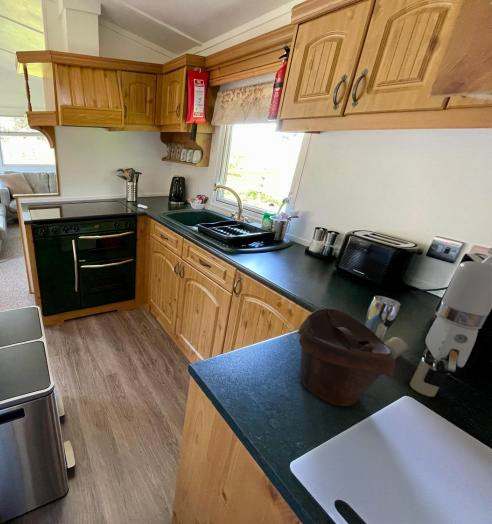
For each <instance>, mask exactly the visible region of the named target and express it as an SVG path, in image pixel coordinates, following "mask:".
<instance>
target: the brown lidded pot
mask: <svg viewBox="0 0 492 524" xmlns="http://www.w3.org/2000/svg"><path fill="white" fill-rule="evenodd" d="M297 334H298V335H299V339H298V343H299V345H300V347H301V350H300V351H301V355H300V375H299V377H300V380H301V383H302V385H303V386H304V388H306V389H307V390H308V391H309V392H311V393H312V394H313V395H314V396H317V397H318V398H320V399H321V400H323V401H325V402H327V403H330V404H332V405H336V406H340V407H349V406H353V405H354V404H356V403H357V402H358V401H359V400H360V398H361V397H362V396H363V395H364V394H365V393H366V392H367V391H368V390H369V388H370V387H371V386H372V385H373V384H374V383H375V382H376V381H377V379H378V378H379V377H380V376H381V375H382V376H385V377H389V378H391V379H392V380H394V371H395V366H396V359H395V360H394V358H392V352H391V350H390V349H389V348H388V347H387V346H386V344H385V343H384V340H383V341H382V340H380V339H379V338H378V337H377V336H376V335H375V334H374V333H373V332H372V331H371V330H370V329H369V328H367V327H366V326H365V324H364V323H362V322H361V321H360V320H358V319H357V318H355V317H353V316H352V315H350V314H348V313H346V312H344V311H341V310H339V309H335V308H329V307H325V308H320V309H319V308H318V309H316V310H315V311H313V312H311V313H310V314H308V315H307V317H306V318H305V319H304V320H303V322H302V323H301V324H300V326H299V328H298V330H297Z"/></svg>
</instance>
